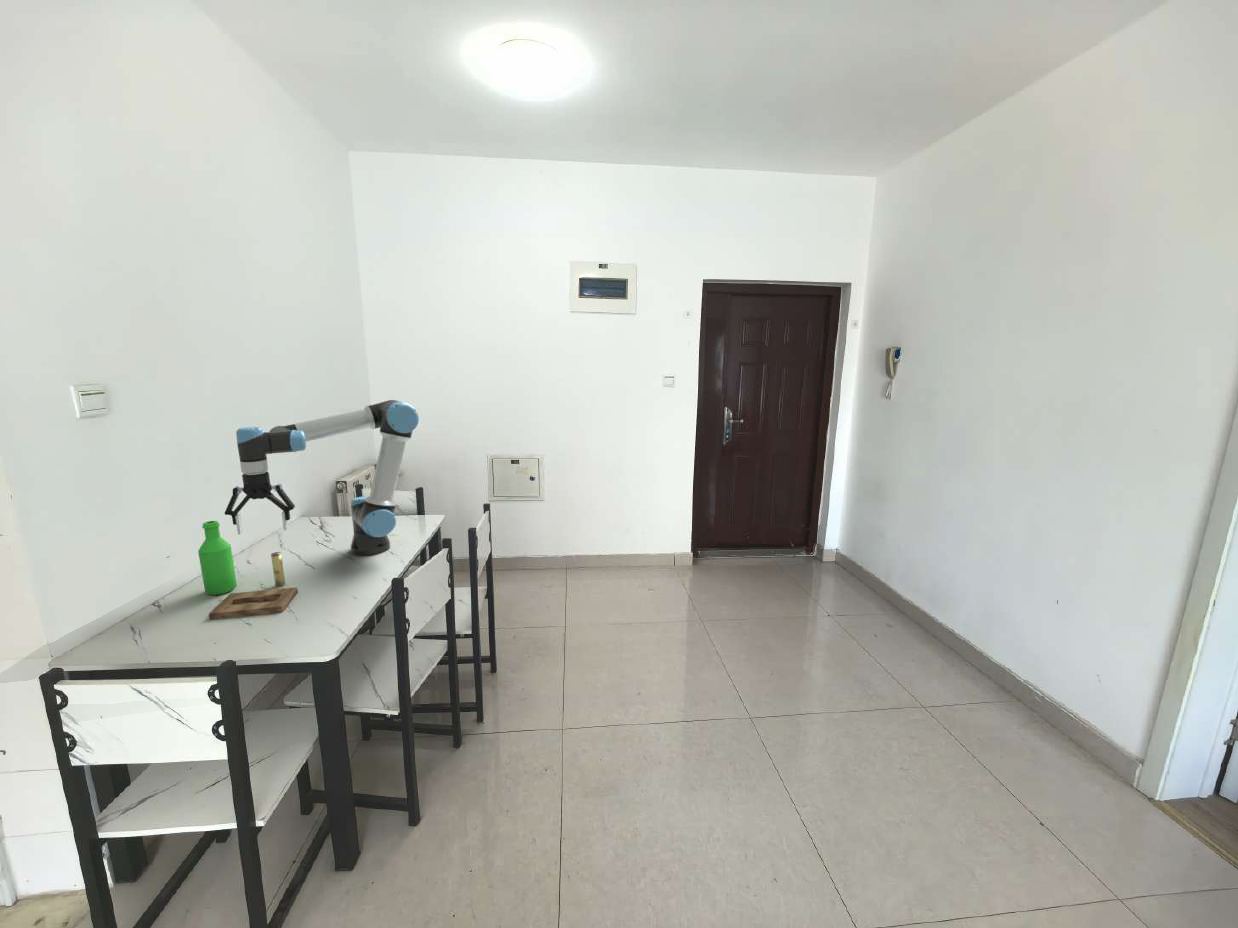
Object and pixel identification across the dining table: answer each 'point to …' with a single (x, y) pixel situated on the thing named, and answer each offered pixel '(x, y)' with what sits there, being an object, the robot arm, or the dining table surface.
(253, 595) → the keyhole board
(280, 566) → the peg
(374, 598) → the dining table surface
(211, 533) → the bottle
